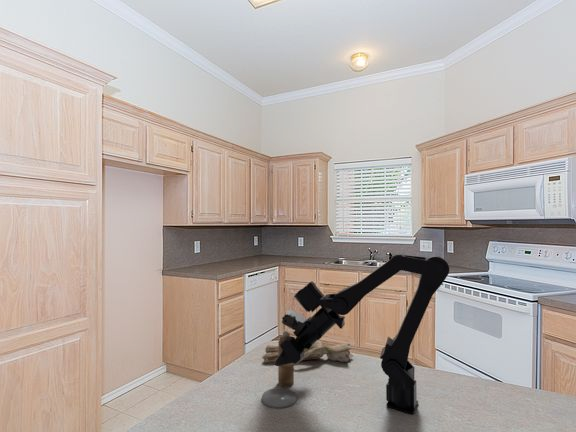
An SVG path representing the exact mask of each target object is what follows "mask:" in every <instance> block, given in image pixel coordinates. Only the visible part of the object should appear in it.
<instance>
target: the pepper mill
mask: <svg viewBox="0 0 576 432" xmlns="http://www.w3.org/2000/svg"><path fill="white" fill-rule="evenodd" d="M289 336H290V337H293V336H292V335H291V334H290V332H289V331H288V330H284V331H283V332H282V335H280V336H279V339H278V357H279V356H280V354H281V352H282V348H281V347H280V344H281V343H282V342H283V341H284V340H285V339H287V338H288V337H289ZM277 367H278V372H277V373H278V374H277V375H278V378H277V379H278V381H277V382H278V383H277V384H278V386H280V388H291V387H292V386H294V383H295V382H294V379H295V378H294V376H295V375H294V374H295V372H294V370H295V369H294V368H295V366H294V363H289V364H285V365H280V366H277Z"/></svg>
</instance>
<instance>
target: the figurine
mask: <svg viewBox="0 0 576 432" xmlns="http://www.w3.org/2000/svg"><path fill="white" fill-rule="evenodd" d="M351 349H352V347H351V343H344V344H343V343H342V344H337V345H336V344H335V345H333V346H328V345H325V344H323V342H321V341H320V340H317V341H316V342H315V343H314V344H313V345H312V346H311V347H310V348H309V349H307V348H306V349H304V356H303V357H302V358H301V360H300V361H298V362H297V363H296V364H294V367H295V366H297V365H298V364H299V363H300V362H302V361H306V360H317V359H321V358H323V357H324V355H326V358H327V359H328V360H330V361H332V362H333V361H334V362H341V363H344V362H345V363H346V362H349V360H350V359H351V358H352V357H354V354H352V353H351V352H350V350H351ZM263 358H264V359H263V362H264V363H265V364H273V363H274V364H275V362H276V360H277V359H278V346H277V345H271V344H270V345H269V344H268V345H266V347H265V354H264V356H263Z"/></svg>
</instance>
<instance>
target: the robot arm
mask: <svg viewBox="0 0 576 432" xmlns="http://www.w3.org/2000/svg"><path fill="white" fill-rule="evenodd" d="M401 271H405V272H409V273H413V274H417V275H419V278H418V279H419V280H418V285H417V288H416V290H415V293H414V295H413V297H412V299H411V301H410V304H409V307H408V308H407V311H406V313H405V316H404V318H403V320H402V323H401V325H400V327H399V329H398V331H397V333H396V335H395V336H394V337H393V338H391V337H390V336H387V339H386V342H385V343H386V344H385V345H384V346H383V348H382V349H381V351H380V356H379V359H380V360H381V363H380V366H381V369H382V371H383V373H384V374H385V375H386V376H388V379H387V380H388V381H387V383H386V385H385V388H386V389H385V391H386V392H385V395H386V396H385V398H386V399H385V400H386V401H387V403H386V407H387V408H389V409H393V410H396V411H400V412H404V413H406V414H410V415H414V414H415V412H416V409H417V407H418V404H419V400H418V399H417V398H418V397H417V396H418V395H417V380H415V376H416V375H415V366H414V365H413V364H412V363H411V362H410V361H409V354H410V350H411V345H412V342H413V341H414V338H415V336H416V333H417V331H418V329H419V327H420V324H421V322H422V321H423V318H424V315H425V313H426V311H427V308H428V306H429V304H430V302H431V300H432V297H433V296H434V294H435V293H436V292H437V291H438V289H439V288H440V287H441V286H442V285H443V283H444V281H445V280H446V279H447V277H448V275H449V273H450V266H449V263H448V262H447V261H446V260H445V259H444V257H442V256H440V255H437V254H431V255H428V256H427V257H425V256H418V255H408V254H403V253H396V254H394V255H393V256H392V257H391V258H390V259H389V260H388V261H386V262H385V263H383V264H381V265H380V266H379V267H378V268H377V269H375V270H374V271H372V272H371V273H369V274H368V275H367V276H365V277H364V278H363V279H361V280H360V281H358V282H356V283H354V284H352V285H349V286H348V287H345V288H342V289H341V290H339V291H337V292H336V293H326V294H324V293H323V292H322V291H321V290H320V289H319V287H318V286H317V285H316V283H315V282H314V281H310V282H308V283H307V284H306V285H305V286H304V287H303V288H301V289H299V290H298V291H297V292H296V293H295V294H294V295H293V297H294V299H295V300H296V301H297V302H298V304H299V305H301V307H302V308H303V309H304V310H305V311H306V313H307V312H308V313H310V312H311V313H314V312H315V311H316V310H317V309H318V308H319V309H318V310H317V311H316V312H315V313H314V314H313V315H312V316H309V317H308V318H305V317H304V316H303V315H301V314H300V313H298V312H296V310H293V309H289V310H287V311H286V312H285V314H284V316H282V317H281V319H282V320H281V324H283V325H284V326H286V327H288V328H290V329H291V330H293V334H294V335H295V337H294V336H292V337H290V336H289V337H288V338H287V339H285V340H284V341H283V342H282V343H281V344H280V347H281V348H282V352H281V354H280V356H279V357H278V359H277V360H276V362H275V363H274V365H275V366H276V367H278V366H280V365H285V364H289V363H294V364H296V363H297V362H298V361H300V360H301V358H302V357H303V356H304V349H306V348H307V349H309V348H310V347H311V346H312V345H313V344H314V343H315V342H316V341H320V340H321V338H323V336H324V335H325V334H326V333H327V332H329V331H330V330H331V329H332V328H333V327H335V325H336V326H337V327H338V328H339V329H343V328H344V326H345V325H346V324H345V323H346V322H345V318H346V316H345V315H347V314H349V313H350V312H351V311H352V310H354V308H355V307H356V306H357V305H358V304H359V303H360V302H361V301H362V300H363V299H364V297H365V296H367V295H368V294H369V293H371V292H372V291H373V290H375V289H377V288H378V287H380V286H381V285H382V284H384V283H385V282H386V281H388V280H389V279H391V278H392V277H393V276H395V275H396V274H397V273H399V272H401ZM300 362H301V361H300Z"/></svg>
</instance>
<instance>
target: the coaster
mask: <svg viewBox="0 0 576 432" xmlns="http://www.w3.org/2000/svg"><path fill="white" fill-rule="evenodd" d="M261 401H262V403H263V405H266V406H267V407H270V408H273V409H285V408H289V407H292V406H293V405H295V403H296V402H297V394H296V392H295V391H293V390H291V389H289V388H287V387H276V388H275V387H274V388H270V389H267V390H265V392H264V393H262V395H261Z"/></svg>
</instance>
